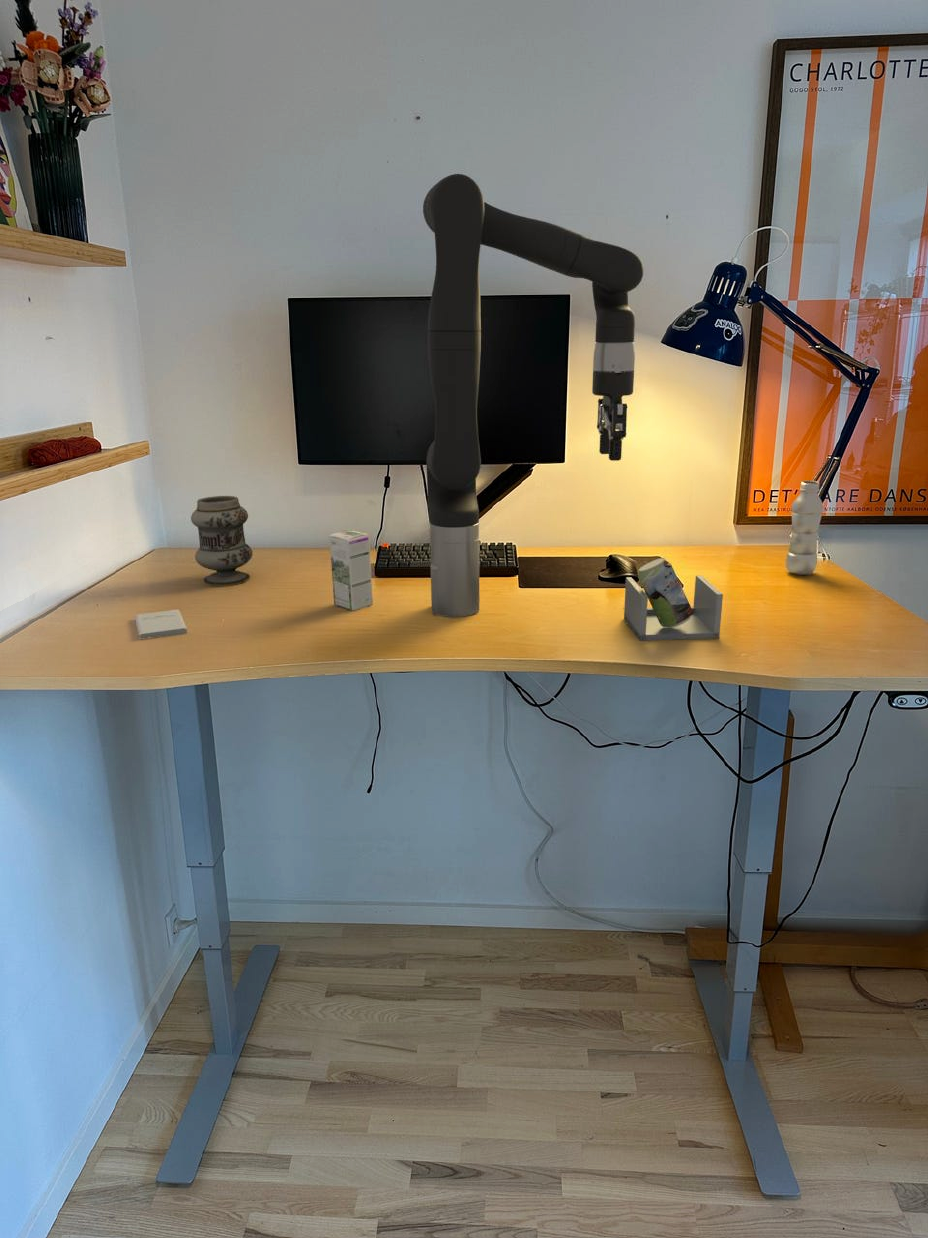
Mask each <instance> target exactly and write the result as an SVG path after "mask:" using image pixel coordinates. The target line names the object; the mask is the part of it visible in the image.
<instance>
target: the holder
mask: <svg viewBox="0 0 928 1238" xmlns="http://www.w3.org/2000/svg"><path fill="white" fill-rule="evenodd" d="M624 587H625V591H624V612H623V620H624V621H625V622H626V624H627V625H628V627H629V628H630V630H631V631H632V632H633V633H634V634H635V636H636V637H637V639H638V640H639V641H668V640H669V641H670V640H672V641H673V640H674V641H675V640H702V639H704V640H705V639H708V640H709V639H720V635H721V634H720V633H721V632H720V631H721V621H722V611H723V599H724V594H723V592H721V591H720V590H719V589H718V588H716V586H714V585H713V584H712V583H711V582H709V580H707V579H706V578H705V577H704V576H703V575H702V574H701V575H695V581H694V595H693V596H694V597H693V606H691V608H692V610H693V613H692V615H691V617H690V619H689V620H688V621H687V622H685V623H683V624H681V625H679V626H676V627H673V628H667V627H663V626H661V625H660V623H659V621H658V619H657V616H656V614H655V612H654V610H653V608H652V607H648V603H649V599H648V596H647V595H646V593H645V591H644V589H643V588H642V587H641V586H640V585H639V584H638V583H637V581H635V579H633V578H632V577H629V576H627V577H625V585H624Z"/></svg>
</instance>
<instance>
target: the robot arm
mask: <svg viewBox="0 0 928 1238" xmlns="http://www.w3.org/2000/svg"><path fill="white" fill-rule="evenodd" d="M422 205H423V206H422V214H423V218H424V220H425V221H424V222H425V223H426V225H427V227H428V228H429V229H430V230H431V232H433V233H434V240H435V242H434V243H435V275H434V281H433V286H432V292H431V297H430V303H429V310H428V320H427V355H428V357H427V358H428V367H429V375H430V383H431V388H432V394H433V400H434V405H435V406H434V407H435V424H434V425H435V428H434V438H433V439H434V440H433V442H432V443H431V444H430V446H428V447H429V448H428V450H427V454H426V485H427V486H426V487H427V490H426V491H427V506H428V513H429V514H428V515H429V536H430V537H429V541H430V543H429V545H430V561H429V562H430V594H431V595H430V596H431V597H430V598H431V601H430V602H431V603H430V604H431V615H433V616H442V617H451V618H452V617H454V618H456V617H457V618H458V617H467V616H471V615H475V614H477V613H479V611H480V601H481V600H480V509H479V504H478V499H477V477H478V475H479V473H480V470H481V466H482V465H481V464H482V458H481V449H480V441H479V427H478V397H479V387H480V386H479V385H480V370H481V354H482V353H481V351H482V348H481V346H482V344H481V343H482V342H481V341H482V332H481V331H482V326H481V324H482V322H481V321H482V320H481V288H480V258H481V256H480V255H481V245H482V246H485V247H489V248H492V249H496V250H499V251H502V252H505V253H508V254H511V255H513V256H515V257H517V258H520V259H524V260H526V261H527V262H530V263H533V264H534V265H538V266H540V267H542V268H545V269H548V270H551V271H552V272H556V273H559V274H561V275H563V276H566V277H569V278H573V279H574V278H575V279H584V280H586V281H587V280H588V281H590V282H591V287H592V297H593V304H594V305H593V306H594V310H595V311H594V312H595V316H596V323H595V340H594V341H595V344H594V350H593V360H592V383H591V384H592V388H591V389H592V390H591V391H592V395H594V396H598V400H597V421H596V422H597V424H596V428H597V430H598V434H599V453H600V454H601V455H608V460H609V461H612V462H615V461H616V462H617V461H621V460H622V450H623V449H622V448H623V440H624V438H626V437H627V418H628V417H627V416H628V415H627V414H628V405H627V403H623V397H625V396H626V397H627V396H632V395H633V394H634V385H635V384H634V381H635V362H636V360H635V359H636V356H635V355H636V352H635V336H636V335H635V334H636V333H635V332H636V331H635V330H636V329H635V328H636V316H635V312H634V311H633V310H632V309H631V308H630V306H629V305H630V304H629V303H630V302H629V292H631V291H633V290H635V289H636V288H637V287H638V286H639V285H640V284H641V282H642V280H643V277H644V271H645V270H644V265H643V262H642V260H641V258H640V257H639V256H638V255H637V254H636V253H635V252H633V251H631V250H629V249H627V248H625V247H623V246H622V247H621V246H618V245H616V244H611V243H606V242H602V241H599V240H594V239H591V238H589V237H587V236H584V235H583V234H579V233H578V232H575V231H572V230H570V229H568V228H566V227H563V226H560V225H558V224H554V223H551V222H547V221H543V220H539V219H534V218H530V217H526V216H522V215H518V214H514V213H511V212H509V211H507V210H506V211H505V210H503V209H500V208H497V207H495V206H494V205H491V204H489V203H487V202H486V201H485V200H484V195H483V193H482V191H481V188H480V187H479V185H478V184H477V183H476V181H474V179H472V178H471V177H470V176H468V175H466V174H462V173H454V174H450V175H448V176H445V177H443V178H442V179H440V180H439V181H438V182H437V183H435V184H434V185H433V186H432V187H431V188H430V189H429V191H428V192H427V194H426V195H425V198H424V201H423V204H422ZM599 396H600V398H599ZM601 397H602V398H601Z"/></svg>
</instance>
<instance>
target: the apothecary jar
mask: <svg viewBox="0 0 928 1238" xmlns="http://www.w3.org/2000/svg"><path fill="white" fill-rule="evenodd" d="M190 519H191V523H192V524H193V526H195V527H197V531H198V538H199V540H198V541H199V548H198V549H197V550H196V552H195V554H194V557H195V561H196V562H197V564H198V565H200V566H201V567H202V568H205V569H207V570H211V571H215V572H213V573H210V574H209V575H207V576H205V577H204V579H203V584H204V585H206V586H209V587H227V586H228V587H230V586H235V585H240V584H243V583H246V582H247V581H249V580H250V578H251V577H250V575H249V573H247V572H244V571H240V570H236V569H238V568H240V567H243V566H244V565H246V564H247V563H249V561H250V560H251V559H252V557H253V550H252V547H250V545H248V544H247V543H246V538H245V532H244V524H245V523H246V522H247V521H248V519H249V514H248V511H247V510H246V509H245V508H244V507H243V506H241V504H240V502H239V498H238V497H237V496H236V495H235V496H233V495H216V496H215V495H213V496H208V497H203V498H199V499H197V501H196V509H195V510H194V511H193V512H192V514H191V516H190Z"/></svg>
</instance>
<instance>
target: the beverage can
mask: <svg viewBox="0 0 928 1238" xmlns="http://www.w3.org/2000/svg"><path fill="white" fill-rule="evenodd" d="M638 580H639V582H640V585H641V586H642V587H641V588H642V590H643V591H644V592H645V593H646V595H647V596H648V603H650V606H651V608H653V610H654V612H655V614H656V616H657V619H658V621H659V623H660V625H661V626H663V627H667V628H673V627H676V626H679V625H681V624H683V623H685V622H687V621H688V620H689V619H690V617H691V615H692V613H693V610H692V608H691V607H692V606H691V604H690V601H689V600H688V597H687V596H686V593H685V592H684V591H685V590H684V589H683V587H682V585H681V583H680V580H679V579H678V575H677V573H676V572H675V570H674V567H673V566H672V564H671V563H670V562H669V561H668V560H666V558H665V557H659V558H656V559H653V560H651V561H649V562H647V563H645V564H644V565H642V566H640V568H639V569H638Z"/></svg>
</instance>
